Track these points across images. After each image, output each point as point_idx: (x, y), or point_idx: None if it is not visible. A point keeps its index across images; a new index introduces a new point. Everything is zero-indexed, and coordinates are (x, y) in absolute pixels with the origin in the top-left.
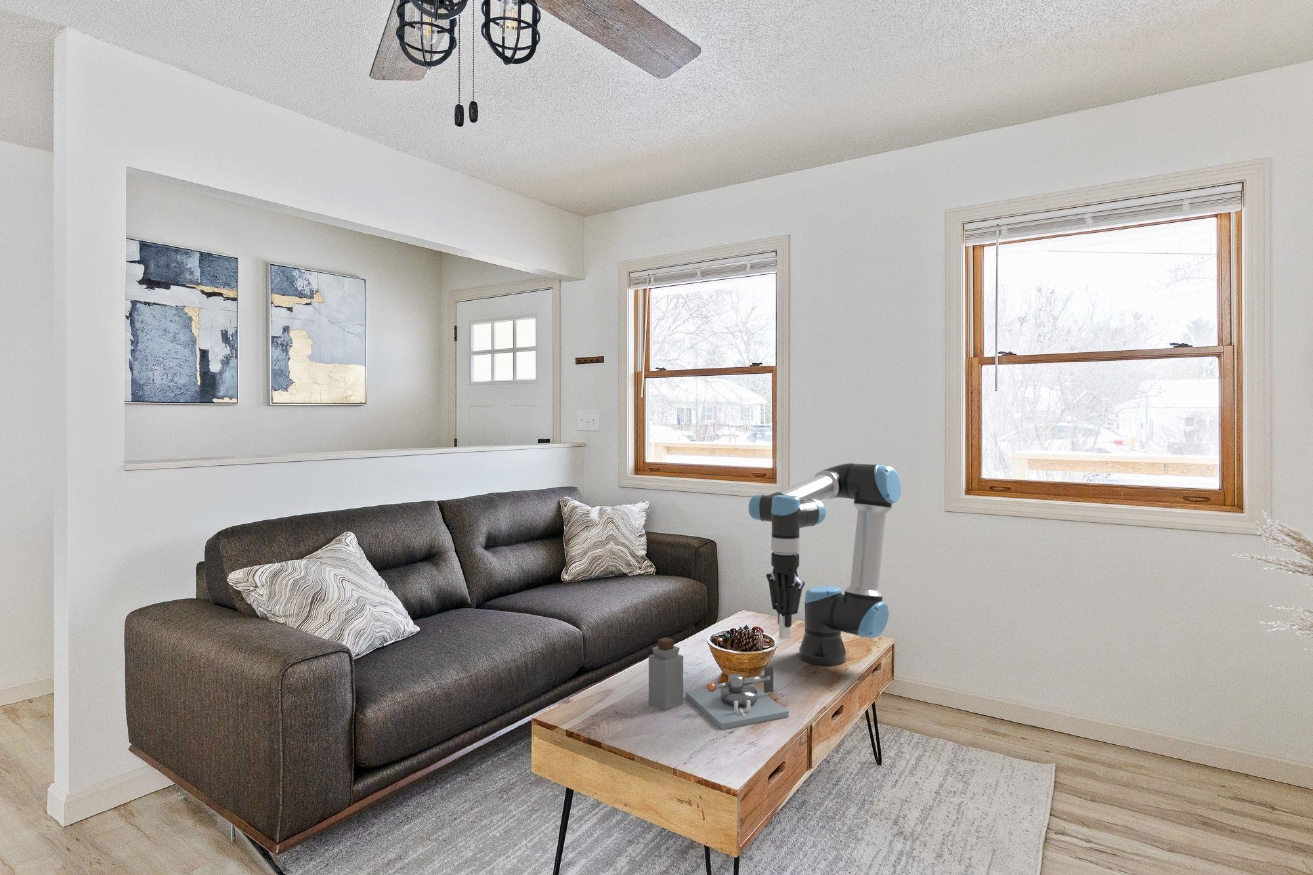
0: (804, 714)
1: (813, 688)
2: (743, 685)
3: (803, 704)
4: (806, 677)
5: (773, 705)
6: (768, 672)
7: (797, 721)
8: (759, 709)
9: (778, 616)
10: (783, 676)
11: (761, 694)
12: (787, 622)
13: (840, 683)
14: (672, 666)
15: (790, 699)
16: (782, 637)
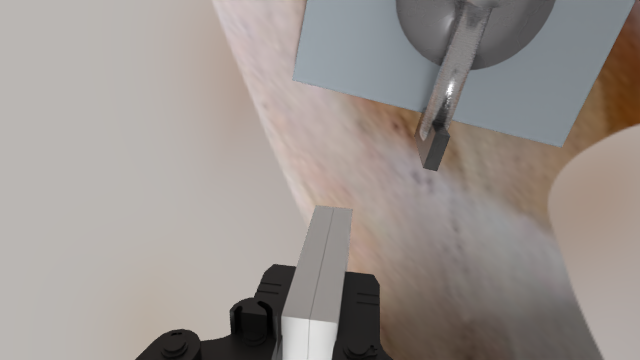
0: (281, 128)
1: (392, 278)
2: (495, 45)
3: (332, 177)
4: (459, 321)
5: (353, 71)
6: (428, 138)
7: (257, 74)
8: (359, 3)
9: (372, 320)
10: (515, 283)
11: None
12: (260, 290)
13: None
14: None
15: (382, 175)
16: (317, 210)
